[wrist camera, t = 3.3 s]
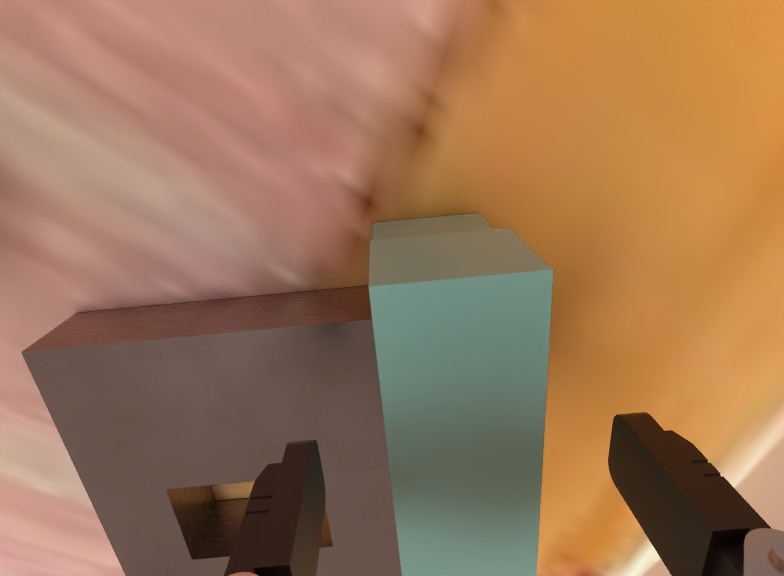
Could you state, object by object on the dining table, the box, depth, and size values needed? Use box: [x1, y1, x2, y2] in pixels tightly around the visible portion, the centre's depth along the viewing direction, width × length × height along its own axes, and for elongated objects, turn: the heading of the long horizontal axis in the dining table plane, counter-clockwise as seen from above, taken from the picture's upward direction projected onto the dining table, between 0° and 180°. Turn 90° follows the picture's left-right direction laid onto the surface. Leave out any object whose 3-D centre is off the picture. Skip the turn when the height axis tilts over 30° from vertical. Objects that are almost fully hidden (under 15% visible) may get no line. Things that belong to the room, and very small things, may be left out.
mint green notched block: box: [368, 213, 553, 576], centre depth 15 cm, size 10×4×8 cm, turn 5°
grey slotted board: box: [21, 286, 402, 576], centre depth 21 cm, size 24×12×3 cm, turn 5°
